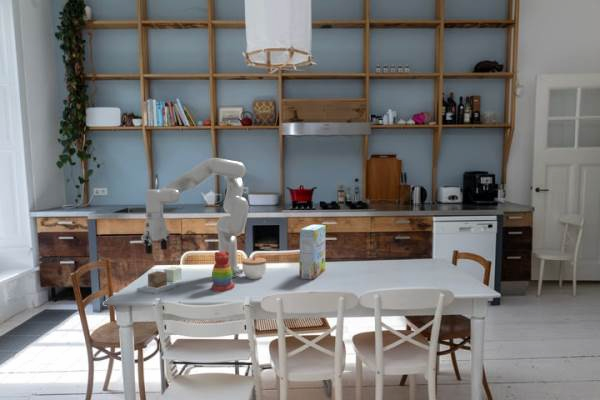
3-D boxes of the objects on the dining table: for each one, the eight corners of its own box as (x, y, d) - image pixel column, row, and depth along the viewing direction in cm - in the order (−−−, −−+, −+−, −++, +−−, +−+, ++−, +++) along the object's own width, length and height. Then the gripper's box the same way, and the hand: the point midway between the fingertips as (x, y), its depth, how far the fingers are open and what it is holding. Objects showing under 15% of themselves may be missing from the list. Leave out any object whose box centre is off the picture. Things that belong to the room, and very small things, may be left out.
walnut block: (166, 284, 203) (166, 272, 203) (157, 287, 198) (157, 275, 197) (157, 283, 206) (157, 271, 205) (148, 286, 200) (147, 274, 200)
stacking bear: (235, 285, 205) (234, 249, 204) (232, 291, 195) (231, 253, 194) (212, 285, 205) (211, 249, 204) (209, 292, 195) (208, 253, 194)
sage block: (181, 279, 218) (181, 267, 218) (173, 282, 213) (173, 270, 213) (172, 278, 221) (172, 266, 221) (164, 280, 216) (163, 269, 215)
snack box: (315, 280, 213) (314, 229, 211) (298, 279, 216) (298, 229, 214) (326, 270, 234) (326, 224, 232) (311, 269, 236) (311, 223, 234)
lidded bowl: (262, 281, 213) (262, 259, 212) (238, 279, 216) (238, 258, 215) (269, 274, 225) (269, 254, 225) (246, 273, 228) (246, 253, 227)
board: (177, 285, 206) (177, 283, 205) (156, 293, 193) (156, 290, 193) (158, 283, 211) (158, 280, 211) (136, 290, 198) (136, 288, 198)
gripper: (147, 218, 190) (148, 255, 191) (173, 213, 205) (175, 248, 207) (134, 217, 193) (136, 254, 194) (162, 213, 209) (163, 247, 210)
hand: (156, 251), depth 201 cm, fingers open, 9 cm apart
